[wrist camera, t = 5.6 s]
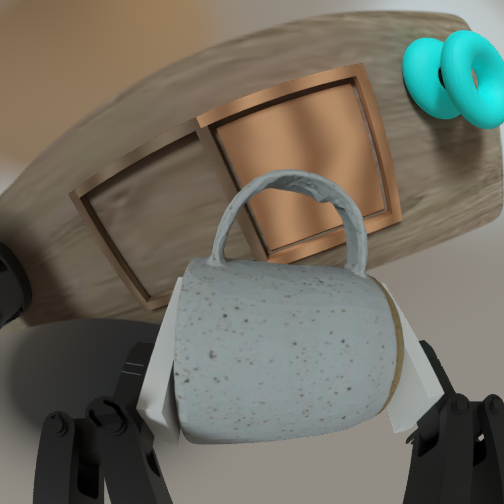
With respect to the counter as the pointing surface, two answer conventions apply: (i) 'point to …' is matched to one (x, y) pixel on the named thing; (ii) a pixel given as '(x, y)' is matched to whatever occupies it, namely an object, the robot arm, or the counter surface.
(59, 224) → the counter surface
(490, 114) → the donuts
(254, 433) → the ceramic mug
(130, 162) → the tray
